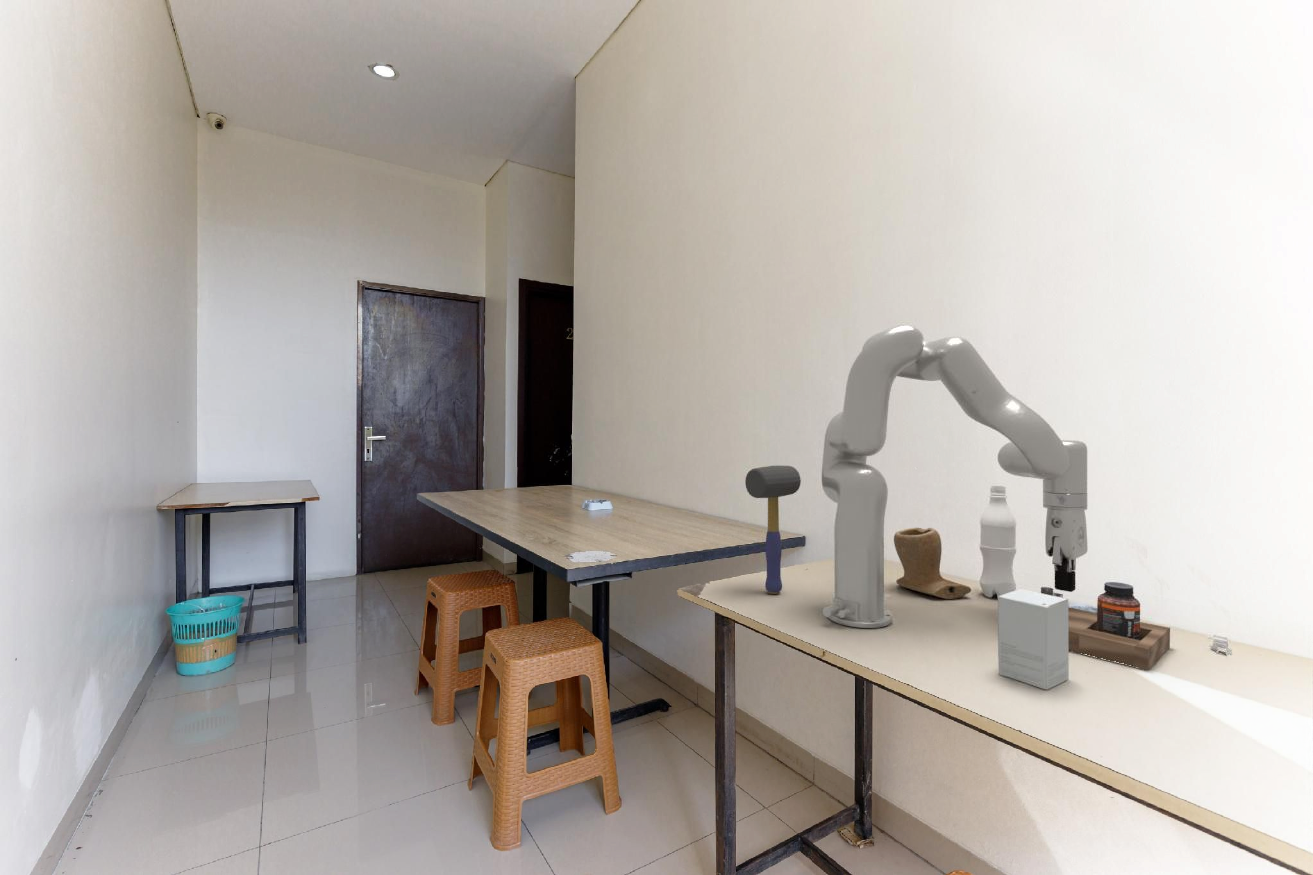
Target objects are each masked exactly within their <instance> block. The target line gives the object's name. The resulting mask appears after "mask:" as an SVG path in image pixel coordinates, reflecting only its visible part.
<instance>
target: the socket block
mask: <svg viewBox="0 0 1313 875" xmlns="http://www.w3.org/2000/svg"><path fill="white" fill-rule="evenodd" d="M1170 647H1171V628H1170V627H1167V626H1162V625H1158V624H1152V623H1147V622H1143V621H1140V640H1136V639H1131V638H1127V637H1122V636H1117V635H1113V634H1108V633H1104V632H1099V631H1097V612H1093V611H1090V610H1089V611H1087V610H1083V609H1078V608H1073V607H1069V606H1068V652H1070V651H1073V652H1072V653H1074V652H1076V653H1075V654H1078V653H1082V654H1087V655H1090V656H1095V657H1097V658H1096V659H1098V658H1103V659H1106V660H1110V661H1116V662H1119V663H1124V664H1127V665H1131V666H1134V667H1138V668H1140V669H1139V670H1142V669H1144V670H1143V671H1146V670H1148V671H1149V670H1150V669H1151V668H1152V667H1153V666H1154V665H1155V664H1156V663H1157V662H1158V661H1159V660H1160V659H1161V657H1163V656H1164V654H1165V653H1166V652H1167V651H1168V650H1169V649H1170ZM1082 654H1081V655H1082ZM1090 656H1089V657H1090ZM1106 660H1105V661H1106ZM1110 661H1109V662H1110ZM1134 667H1133V668H1134ZM1138 668H1137V669H1138Z"/></svg>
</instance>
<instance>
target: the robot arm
mask: <svg viewBox="0 0 1313 875" xmlns="http://www.w3.org/2000/svg"><path fill="white" fill-rule="evenodd" d="M897 377H899V378H905V379H911V380H917V381H918V380H919V381H924V382H925V381H927V382H937V381H940V382H941V383H942V384H943V386H945V388H946V389H947V391H948V393H950V394H951V396H952V397H953V399H954V400H955V401H956V402H957V404H958V405H959V408H961V410H962V411H963V412H964V414H966V415H967V417H969V418H971V420H974V421H975V422H977V423H980V424H981V425H984V426H986V427H988V428H991V429H992V430H995V431H996V432H998V433H1000V434H1001V435H1002V436H1004V437H1005V438H1007V439H1008V440H1009V441H1010V442H1007V443H1005V444H1004V445H1003V446H1002V447H1000V449H999V451H998V453H997V462H998V464H999V466H1000V468H1001V469H1002V470H1003V471H1004V472H1006V473H1008V474H1010V475H1013V476H1018V477H1023V478H1031V479H1039V480H1042V508H1045V509H1046V517H1045V518H1046V521H1045V533H1044V534H1045V535H1044V536H1045V537H1044V538H1045V554H1046V555H1047V556H1048V557H1052V565H1053V566H1054V568H1053V570H1054V589H1055V590H1059V591H1063V592H1069V593H1072V592H1074V591H1075V590H1076V569H1077V568H1076V564H1077V559H1078V558H1080V557H1082V556H1084V555H1086V554H1087V553H1088V534H1087V532H1088V530H1087V517H1086V511H1087V510H1088V447H1087V444H1086V443H1085V442H1083V441H1082V440H1081V441H1080V440H1068V439H1067V440H1066V439H1065V440H1064V439H1063V440H1061V438H1060V436H1058V434H1057V433H1056V431H1055V430H1054V429H1053V428H1052V426H1051V425H1050V423H1048V422H1047V421H1046V419H1044V418H1043V417H1042V416H1041V415H1040V414H1038V413H1037V412H1036V411H1034V410H1033V409H1032V408H1030V407H1029V406H1027V405H1026V404H1025V403H1024V402H1022V401H1021V400H1020V399H1019V398H1017V397H1016V396H1014V395H1012V394H1011V393H1010V392H1008V391H1007V390H1006V388H1005V387H1004V386H1003V384H1002V383H1001V382H1000V380H999V379H998V378H997V377H996V375H995V373H994V372H992V370H991V368H990V367H989V366H988V364H987V363H986V361H985V360H984V359H983V357H982V356H981V355H980V354H979V351H977V350H976V348H975V347H974V346H973V344H971V342H970V341H969V340H967V339H966V338H963V337H961V336H947V337H944V338H940V339H935V340H933V341H931V340H930V341H929V340H928V341H927V340H925V338H924V335H923V333H922V332H921V330H920V329H919V328H917V327H915V326H913V325H908V324H904V325H903V324H901V325H896V326H893V327H890V328H888V329H886V330H884V331H880V332H878V333H875V334H874V335H872V336H870V337H869V338H868V339H867V340H866V341H865V342H864V344H863V346H862V348H861V351H860V352H859V354H858V355H857V356H856V359H855V360H854V362H853V363H852V365H851V367H850V369H849V374H848V376H847V381H846V388H845V395H844V398H843V400H844V402H843V410H842V411H841V412H838V413H837V414H835V415H834V416H833V417H832V418H831V419H830V421H829V422H828V425H827V427H826V430H825V434H824V442H823V454H822V466H821V485H822V489H823V492H824V494H825V495H826V497H827V498H829V500H831V501H833V502H834V503H836V504H837V507H836V513H835V519H834V529H833V532H834V533H833V538H834V540H833V541H834V597H832V603H831V605H829V606H826V607H825V606H824V607H823V609H822V614H823V616H824V617H825V618H828V619H829V620H831V621H832V622H834V623H837V624H839V625H843V626H847V627H851V628H862V629H876V628H877V629H878V628H883V627H886V626H887V627H888V626H889V625H890V624H891V623H892V622H893V615H892V613H891V612H890V611H888V610H886V609H885V608H884V606H885V593H884V592H885V569H884V568H885V545H884V544H885V543H884V538H885V534H884V533H885V516H886V509H887V503H888V496H889V495H888V492H889V491H888V490H889V489H888V485H887V481H886V479H885V477H884V475H883V474H882V473H881V472H880V471H879V470H878V469H877V468H875V467H874V466H873V465H869V464H867V458H868V457H871V456H875V455H876V454H878V453H879V452H881V450H882V449H883V447H884V446H885V443H886V439H887V431H888V430H887V429H888V428H887V427H888V416H889V415H888V414H889V404H890V403H889V402H890V398H891V396H890V395H891V392H892V387H893V383H894V381H895V380H896V378H897Z"/></svg>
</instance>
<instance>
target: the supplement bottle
mask: <svg viewBox="0 0 1313 875" xmlns="http://www.w3.org/2000/svg"><path fill="white" fill-rule="evenodd" d="M1103 588H1104V589H1103V591H1104V592H1103V593H1101V594H1099V595H1098V597H1097V601H1096V603H1097V606H1096V610H1097V611H1096V613H1097V631H1099V632H1104V633H1108V634H1113V635H1117V636H1122V637H1127V638H1131V639H1136V640H1140V622H1141V603H1140V601H1139V600H1138V599H1137V598H1135V596H1134V593H1135V592H1134V585H1131V584H1129V583H1124V582H1117V581H1107V582H1104V586H1103Z"/></svg>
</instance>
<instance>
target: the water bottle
mask: <svg viewBox="0 0 1313 875" xmlns="http://www.w3.org/2000/svg"><path fill="white" fill-rule="evenodd" d="M1006 490H1007V487H1006V486H1003V485H1001V486H1000V485H992V486H991V485H990V492H989V495H988V497H989V503H988V505H987V507H986V508H985V509H984V511H983V513H982V514H981V517H980V521H979V524H980V543H979V550H980V553H981V555H982V563H983V565H982V572H981V576H980V578H979V585H980V588H981V591H982V594H983V595H984V596H985V597H986V598H993V596H995V594H996V596H997V597H998V596H1001V595H1004V594H1007V593H1009V592H1013V591H1016V590H1017V589H1016V588H1017V584H1016V580H1015V579H1014V573H1013V572H1014V571H1013V570H1014V569H1013V567H1014V566H1013V564H1014V559H1015V556H1016V554H1017V547H1016V541H1017V540H1016V536H1017V535H1016V534H1017V533H1016V532H1017V528H1016V527H1017V521H1016V518H1015V516H1014V514H1013V513H1012V511H1011V509H1010V507H1009V506H1008V503H1007V498H1008V496H1007V493H1006V492H1007V491H1006Z"/></svg>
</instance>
